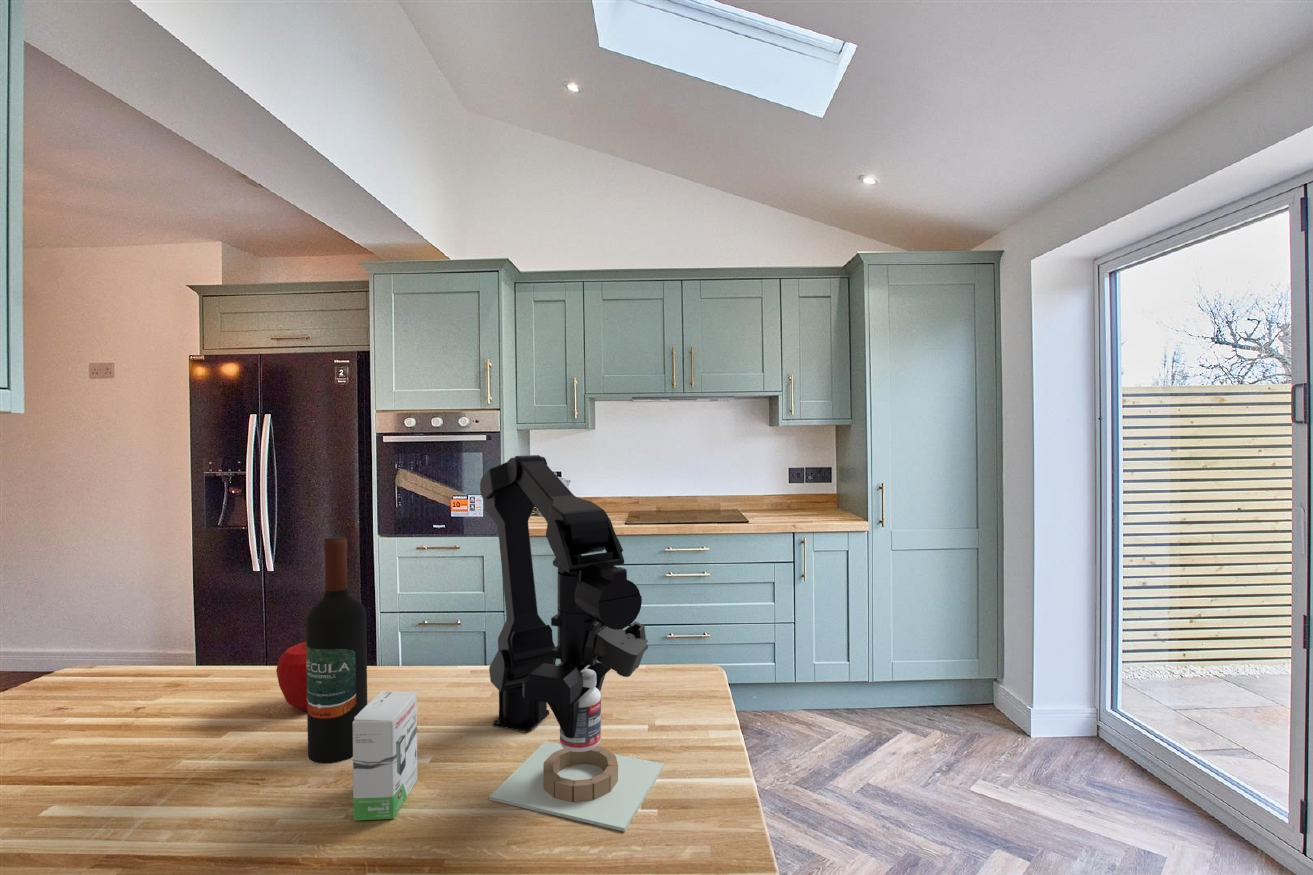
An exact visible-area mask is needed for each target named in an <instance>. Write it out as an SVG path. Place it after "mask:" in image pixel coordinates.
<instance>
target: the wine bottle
mask: <svg viewBox="0 0 1313 875" xmlns="http://www.w3.org/2000/svg"><path fill="white" fill-rule="evenodd" d="M347 540H348V539H347V537H346V536H332V537H327V538H324V544H323V551H324V588H325V590H324V594H323V597H322V598H321V599H320V600H319V601H318V602H317V603H316V604H314V605H313V606H312V608H311V609H310V610H309V611H308V614H307V615H306V620H305V642H306V660H307V711H306V714H307V715H306V716H307V717H306V718H307V719H306V720H307V721H306V722H307V757H308V760H309V761H311V762H313V763H316V764H320V765H321V764H335V763H339V762H343V761H346V760H349V759H353V721H354V718H355V716H356V715H357V714H358V713H359V712H360V711H361V710H362V709H363V708H364V707H365V706H366V705H367V704H368V659H367V656H368V646H367V643H368V642H367V638H368V637H367V634H368V633H367V612H366V611H367V610H366V607H365V606H364V605H363V604H362V602H360V601H359V600H358V599H357V598H355V597H353V595H350V592H349V590H348V559H347V558H348V556H347V555H348V542H347Z"/></svg>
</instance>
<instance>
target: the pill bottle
mask: <svg viewBox="0 0 1313 875" xmlns="http://www.w3.org/2000/svg"><path fill="white" fill-rule="evenodd" d="M582 673H583V687H588V688H590V689H589V690H588V691H587V692H586V693H585V694H584V695H583V696H582V697H581V698H580V700H579V708H578V717H577V725H576V731H575V736H574V737H573V738H567V737H565V735H564V733H563V731H562V729H561V727H560V726H559V744H561V746H562V747H563V748H564V749H566V750H568V751H572V752H585V751H589V750H592V749H594V748H595V747H597V746H598V747H599V745H600V743H601V739H602V732H601V731H602V730H601V729H602V696H601V695H602V693H601V691H599V690H598V689H597V688H596V687H595V686H596V682H597V681H596V673H595V671H593V670H591V669H586V670H585V671H583V672H582Z"/></svg>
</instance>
